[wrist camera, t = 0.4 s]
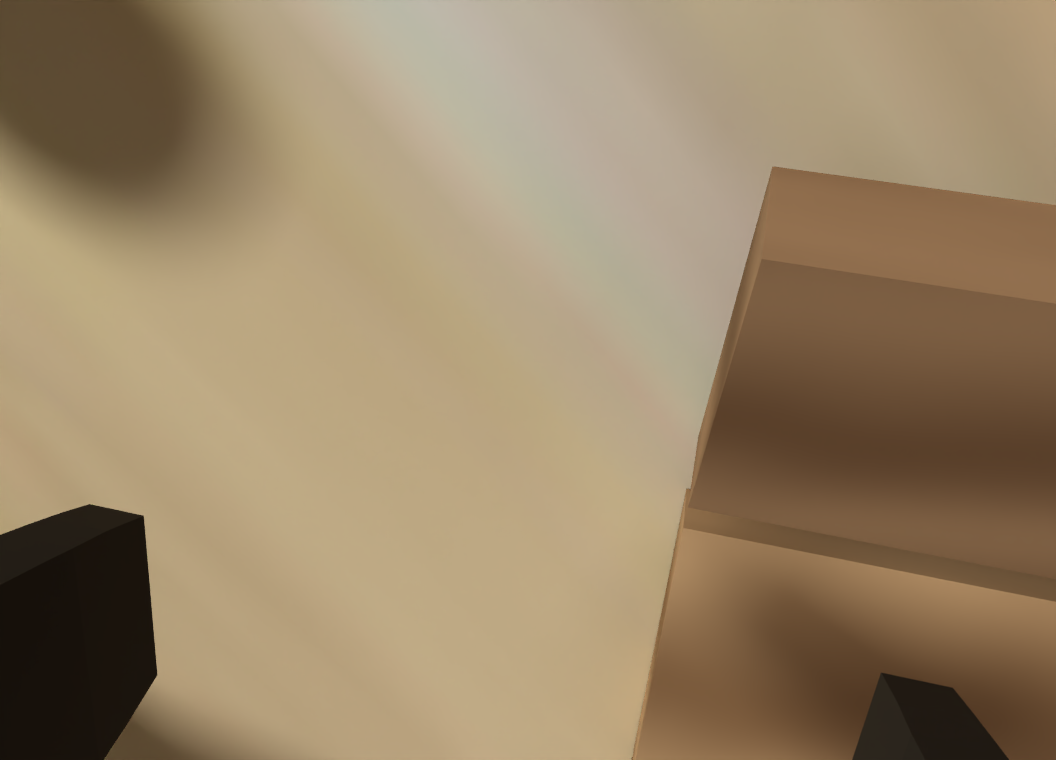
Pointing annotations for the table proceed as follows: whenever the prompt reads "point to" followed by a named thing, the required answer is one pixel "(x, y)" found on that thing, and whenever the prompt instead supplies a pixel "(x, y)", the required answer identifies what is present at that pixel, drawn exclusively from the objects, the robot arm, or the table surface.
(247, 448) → the table surface
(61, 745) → the robot arm
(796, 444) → the loose plank
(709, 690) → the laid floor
